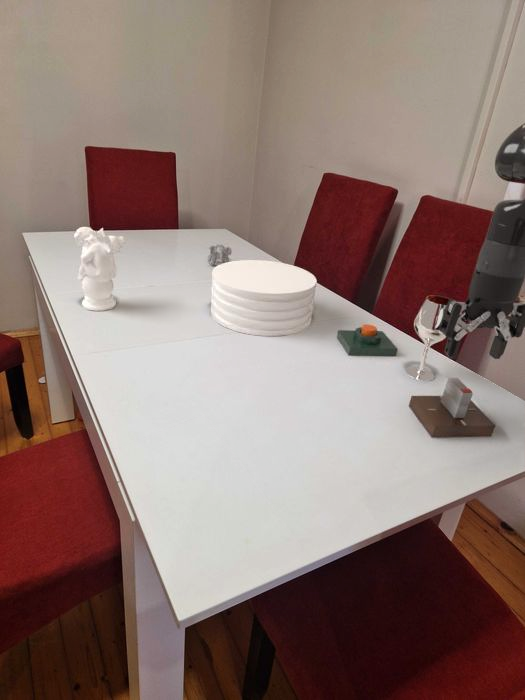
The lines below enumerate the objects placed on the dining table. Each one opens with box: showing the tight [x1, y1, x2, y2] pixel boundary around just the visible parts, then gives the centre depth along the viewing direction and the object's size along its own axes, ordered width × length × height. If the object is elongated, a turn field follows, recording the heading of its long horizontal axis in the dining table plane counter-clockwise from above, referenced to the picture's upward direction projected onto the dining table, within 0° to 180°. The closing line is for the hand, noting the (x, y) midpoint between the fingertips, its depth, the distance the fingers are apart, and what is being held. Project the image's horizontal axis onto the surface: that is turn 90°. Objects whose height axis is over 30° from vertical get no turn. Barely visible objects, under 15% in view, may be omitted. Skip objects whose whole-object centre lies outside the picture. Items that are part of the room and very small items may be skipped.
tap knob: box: [441, 377, 474, 418], centre depth 85 cm, size 6×2×6 cm, turn 7°
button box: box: [336, 326, 398, 357], centre depth 112 cm, size 12×10×4 cm
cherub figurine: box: [73, 226, 126, 312], centre depth 118 cm, size 12×12×22 cm
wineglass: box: [405, 294, 452, 382], centre depth 99 cm, size 8×8×18 cm
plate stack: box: [210, 259, 318, 337], centre depth 124 cm, size 28×28×12 cm
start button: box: [361, 323, 378, 336], centre depth 111 cm, size 4×4×2 cm
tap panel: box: [408, 395, 497, 438], centre depth 87 cm, size 12×10×3 cm
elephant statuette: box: [207, 244, 233, 266], centre depth 162 cm, size 9×12×8 cm
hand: (472, 357), depth 80 cm, fingers open, 8 cm apart
